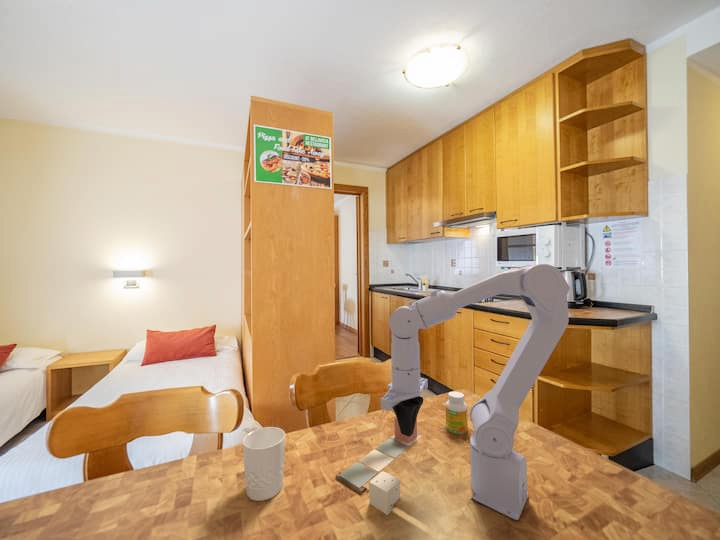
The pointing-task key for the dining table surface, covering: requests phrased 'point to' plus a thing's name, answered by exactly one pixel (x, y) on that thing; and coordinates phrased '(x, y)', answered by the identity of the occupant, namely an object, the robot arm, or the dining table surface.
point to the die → (384, 492)
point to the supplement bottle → (456, 413)
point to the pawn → (404, 437)
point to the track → (373, 463)
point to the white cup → (264, 462)
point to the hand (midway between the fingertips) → (406, 433)
